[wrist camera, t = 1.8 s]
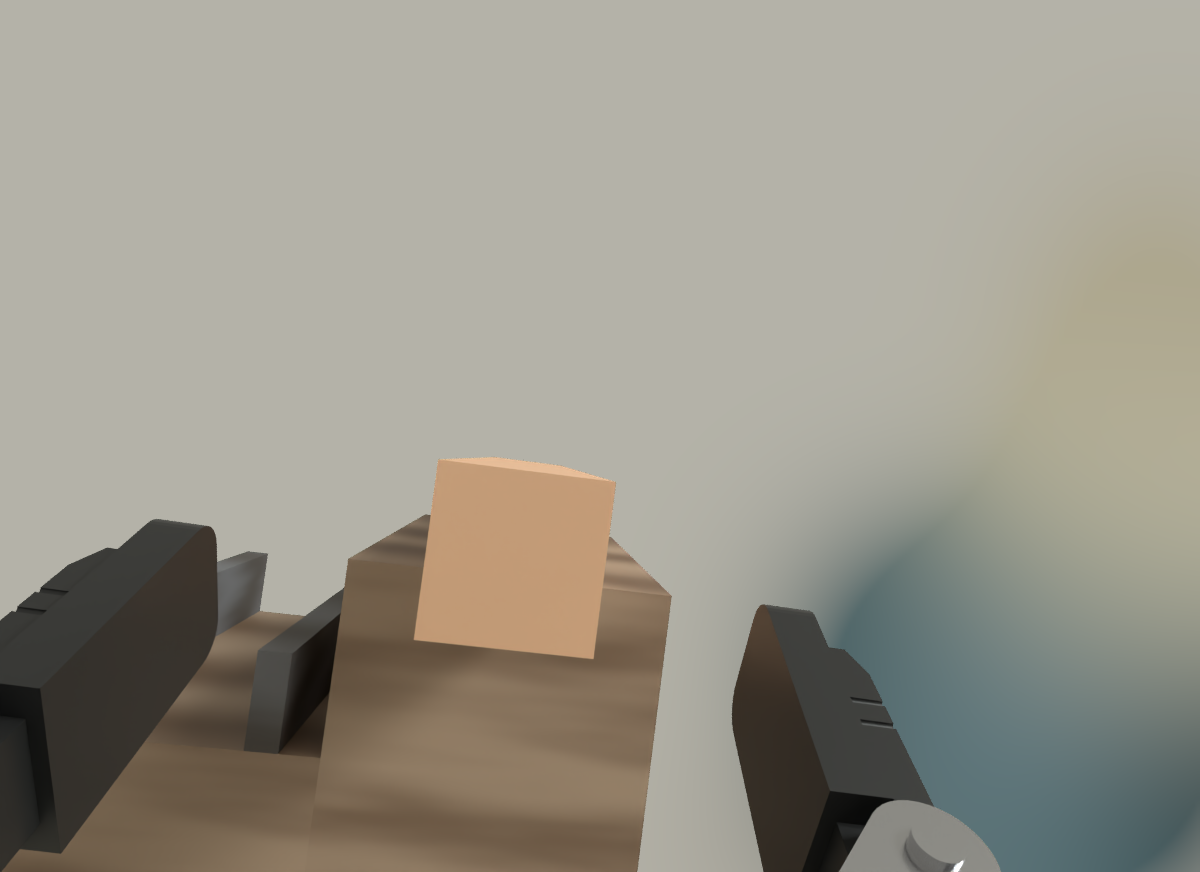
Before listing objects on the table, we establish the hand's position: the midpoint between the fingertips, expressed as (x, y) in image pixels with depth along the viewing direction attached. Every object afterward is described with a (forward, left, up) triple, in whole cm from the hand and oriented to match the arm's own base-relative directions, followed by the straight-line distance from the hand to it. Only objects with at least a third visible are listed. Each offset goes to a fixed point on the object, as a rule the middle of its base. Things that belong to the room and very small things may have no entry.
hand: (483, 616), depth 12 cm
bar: (-9, -14, -1) cm, 17 cm away
